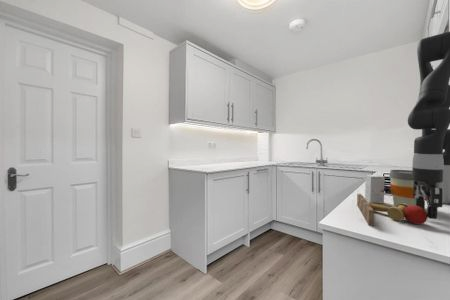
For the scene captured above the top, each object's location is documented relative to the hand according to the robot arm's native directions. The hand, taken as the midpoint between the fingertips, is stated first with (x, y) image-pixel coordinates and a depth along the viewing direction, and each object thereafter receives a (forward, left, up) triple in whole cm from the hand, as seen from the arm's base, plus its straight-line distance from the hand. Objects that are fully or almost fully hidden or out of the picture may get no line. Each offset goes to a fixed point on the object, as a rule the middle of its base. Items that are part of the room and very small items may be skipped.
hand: (425, 214), depth 70 cm
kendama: (-1, -9, -3) cm, 9 cm away
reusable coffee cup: (-18, +1, -3) cm, 19 cm away
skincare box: (-21, -10, -3) cm, 24 cm away
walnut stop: (0, -18, -3) cm, 18 cm away
